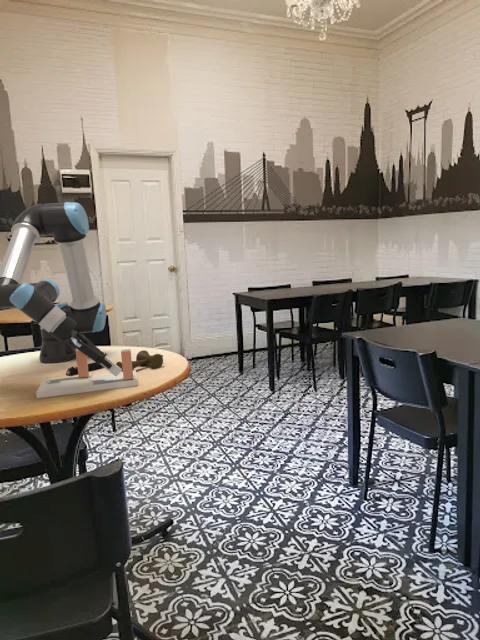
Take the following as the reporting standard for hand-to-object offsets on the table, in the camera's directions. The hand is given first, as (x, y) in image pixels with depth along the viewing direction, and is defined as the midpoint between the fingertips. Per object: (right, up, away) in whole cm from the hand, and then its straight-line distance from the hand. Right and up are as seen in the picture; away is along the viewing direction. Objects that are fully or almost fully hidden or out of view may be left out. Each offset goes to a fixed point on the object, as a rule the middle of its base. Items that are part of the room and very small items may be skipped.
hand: (119, 373), depth 147 cm
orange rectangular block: (+3, -2, +1) cm, 4 cm away
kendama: (+3, -2, +23) cm, 23 cm away
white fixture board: (-10, -5, +4) cm, 12 cm away
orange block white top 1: (-14, -2, +8) cm, 16 cm away
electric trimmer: (-18, -3, +25) cm, 31 cm away
